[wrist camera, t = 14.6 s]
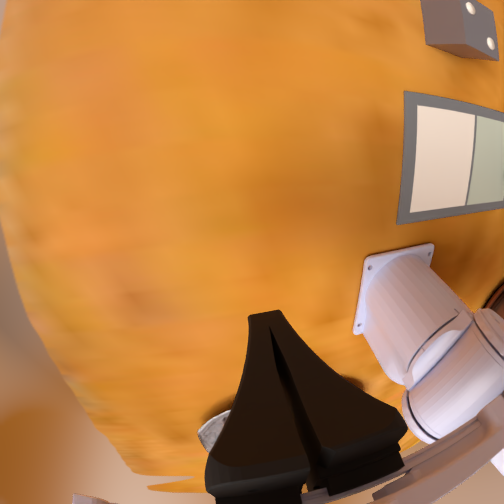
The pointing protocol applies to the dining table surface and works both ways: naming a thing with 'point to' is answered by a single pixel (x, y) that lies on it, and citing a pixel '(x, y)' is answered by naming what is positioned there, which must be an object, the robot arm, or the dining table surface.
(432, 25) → the die
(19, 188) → the dining table surface
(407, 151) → the game board
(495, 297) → the cup and saucer
